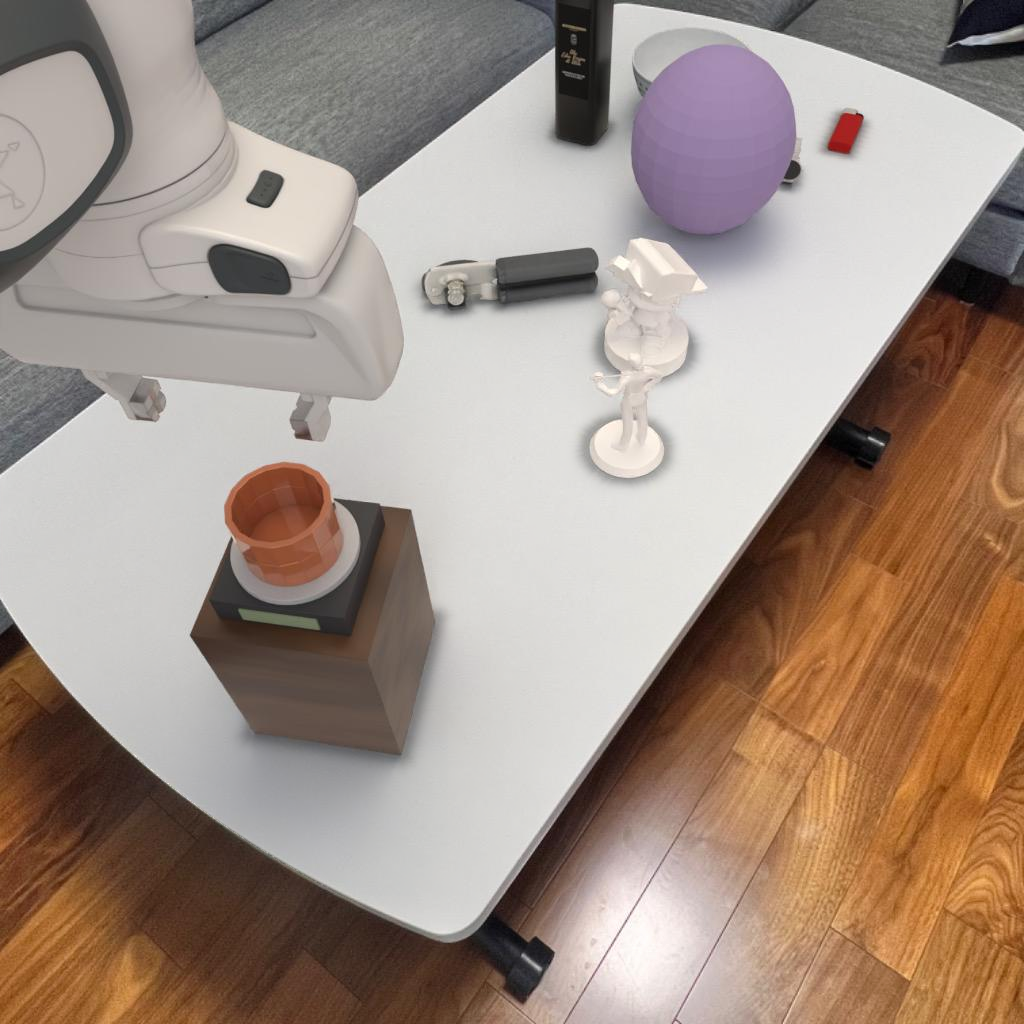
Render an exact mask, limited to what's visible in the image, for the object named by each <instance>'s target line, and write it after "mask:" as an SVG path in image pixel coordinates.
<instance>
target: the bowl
mask: <svg viewBox="0 0 1024 1024" xmlns="http://www.w3.org/2000/svg"><path fill="white" fill-rule="evenodd" d="M333 498H334V496H333V493H332V490H331V486H330V484H329V482H327V480H326V479H325V477H323V475H322V474H321V472H319V471H318V470H316V469H314V468H312V467H311V466H308V465H307V464H304V463H298V462H290V461H289V462H288V461H280V462H276V463H270V464H265V465H262V466H261V467H258V468H256V469H255V470H253V471H250V472H249V473H247V474H245V475H244V476H243V477H242V478H241V479H240V480H239V481H238V482H237V483H236V484H235V485H234V486H233V487H232V488H231V489H230V491H229V494H228V496H227V498H226V501H225V503H224V506H223V513H224V514H223V515H224V516H223V517H224V524H225V526H226V528H227V530H228V532H229V534H230V537H231V536H232V538H233V540H234V542H235V544H236V546H237V548H238V550H239V552H240V554H241V556H242V558H243V560H244V561H245V563H246V565H247V567H248V568H249V570H250V571H251V573H252V574H253V575H254V576H255V577H257V578H258V579H260V580H261V581H263V582H265V583H268V584H271V585H274V586H281V587H292V586H298V585H302V584H306V583H308V582H311V581H313V580H315V579H317V578H319V577H320V576H322V575H323V574H324V573H326V572H327V571H328V570H329V569H330V568H331V567H332V566H333V565H334V564H335V562H336V561H337V559H338V558H339V556H340V553H341V551H342V548H343V543H344V534H343V529H342V525H341V520H340V517H339V514H338V511H337V508H336V505H335V502H334V499H333Z"/></svg>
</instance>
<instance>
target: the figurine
mask: <svg viewBox="0 0 1024 1024" xmlns="http://www.w3.org/2000/svg"><path fill="white" fill-rule="evenodd" d="M628 364H629V367H628V369H627V370H626V371H624V372H620V371H619V372H620V374H613V375H604V373H603V372H602V371H601V372H600V371H596V372H595V373H593V374H592V376H590V377H589V380H591V381H594V384H595V387H594V388H595V389H596V390H598V391H599V392H600V393H602V394H604V395H605V396H607V397H609V398H611V397H612V398H613V397H615V396H618V395H619V394H622V392H623V396H622V397H621V400H620V403H619V404H620V406H619V407H620V413H621V419H615V420H613V421H609V422H608V423H606V424H605V425H603V426H601V427H600V428H599V429H597V431H595V432H594V433H593V435H592V437H591V439H590V442H589V447H588V449H589V450H588V451H589V457H591V460H592V461H593V463H594V465H596V467H598V468H599V470H601V471H603V472H604V473H606V474H608V475H611V476H614V477H618V478H623V479H625V478H626V479H632V478H633V479H635V478H639V477H644V476H646V475H647V474H650V473H651V472H653V471H654V470H656V469H657V468H658V466H660V464H661V463H662V461H663V459H664V455H665V446H664V442H663V440H662V438H661V436H660V434H658V432H656V431H655V430H654V429H653V428H652V427H650V425H649V424H648V423H649V422H648V421H649V420H648V399H649V398H648V397H649V394H648V393H649V392H650V391H651V390H653V388H654V387H655V386H657V385H658V384H659V383H660V382H661V381H662V380H663V378H664V377H663V374H662V373H661V372H660V371H658V370H655V369H653V368H651V367H648V366H644V362H643V359H642V357H641V356H640V355H639V354H638V353H634V352H632V353H630V354H629V358H628ZM630 367H632V369H631V368H630ZM618 377H619V379H618V382H617V384H616V386H614V387H612V388H609V387H608V386H607V385H606V384H605V383H604V382H603V381H605V379H608V378H609V379H610V378H618ZM650 377H653V379H649V378H650ZM602 380H603V381H602ZM634 414H635V418H636V419H634Z"/></svg>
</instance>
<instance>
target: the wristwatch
mask: <svg viewBox="0 0 1024 1024" xmlns="http://www.w3.org/2000/svg"><path fill="white" fill-rule="evenodd" d="M802 144H803V138H802V137H796V143H795V150H794V154H793V157H792V159H791V162H790V165H789V167H788V169H787V172H786V174H785V176H784V178H783V180H782V183H783V182H785V183H792V184H793V183H794V182H795V180H796V179H798V178H799V177H800V175H801V174H802V173H803V172H804V169H803V166H802V163H801V162H800V154H801V152H802Z"/></svg>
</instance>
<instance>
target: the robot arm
mask: <svg viewBox="0 0 1024 1024" xmlns="http://www.w3.org/2000/svg"><path fill="white" fill-rule="evenodd" d="M194 13H195V12H194V6H193V2H192V0H0V349H1V350H2V351H4V352H5V353H7V354H8V355H9V356H11V357H12V358H14V359H15V360H17V361H18V362H21V363H23V364H29V365H42V366H50V367H59V368H67V369H69V368H70V369H76V370H77V369H78V370H80V372H82V375H83V377H84V378H85V379H86V380H88V381H89V382H90V383H92V384H93V385H95V387H97V388H99V390H101V391H103V392H104V393H106V394H107V395H108V396H109V397H110V398H113V399H114V400H115V401H118V403H119V404H120V406H121V408H122V410H123V412H124V413H125V415H126V417H127V419H129V420H130V421H137V422H138V421H140V422H141V421H142V422H150V423H157V422H158V421H159V419H160V418H161V415H160V414H161V413H162V412H164V410H165V408H166V406H167V399H166V395H165V393H163V392H162V391H161V390H162V387H161V384H160V382H159V380H158V379H155V378H160V379H168V380H179V381H187V382H195V383H196V382H197V383H206V384H213V385H223V386H233V387H240V388H241V387H243V388H250V389H251V388H252V389H259V390H268V391H270V390H271V391H278V392H288V393H297V394H299V396H298V398H297V400H296V403H295V405H296V406H295V407H296V408H295V409H293V410H292V412H291V415H290V417H289V424H290V427H291V429H292V430H293V431H294V433H293V436H294V438H295V439H296V440H303V441H312V442H318V443H323V442H325V440H326V438H327V435H328V433H329V430H330V427H331V425H332V424H331V423H332V422H331V421H332V415H331V412H330V408H329V406H330V404H331V401H332V398H333V397H335V398H341V399H342V398H343V399H351V400H360V401H367V402H368V401H370V402H371V401H376V400H378V399H379V398H380V397H382V396H383V395H384V394H385V393H386V392H387V390H389V388H391V386H392V384H393V382H394V380H395V378H396V375H397V372H398V369H399V366H400V364H401V360H402V357H403V352H404V345H405V336H404V329H403V324H402V318H401V314H400V309H399V306H398V302H397V298H396V294H395V290H394V287H393V284H392V281H391V278H390V275H389V271H388V269H387V266H386V263H385V261H384V258H383V256H382V254H381V252H380V250H379V248H378V247H377V245H376V244H375V242H374V241H373V239H372V238H371V237H370V236H369V235H368V234H367V233H366V232H364V231H363V230H362V228H359V227H358V226H357V225H355V224H354V222H355V220H356V214H357V210H358V206H359V201H360V200H359V199H360V198H359V189H358V184H357V181H356V179H355V177H354V176H353V175H352V173H351V172H350V171H348V170H347V169H345V168H344V167H342V166H340V165H338V164H335V163H332V162H330V161H327V160H325V159H322V158H318V157H315V156H312V155H310V154H307V153H305V152H302V151H299V150H296V149H294V148H291V147H289V146H286V145H284V144H282V143H279V142H276V141H273V140H272V139H270V138H269V139H268V138H267V137H265V136H263V135H260V134H258V133H256V132H254V131H251V130H250V129H248V128H246V127H244V126H242V125H240V124H238V123H236V122H234V121H231V120H228V118H227V115H226V111H225V109H224V106H223V104H222V102H221V99H220V96H219V95H218V94H217V92H216V90H215V88H214V87H213V85H212V84H211V82H210V81H209V79H208V78H207V76H206V75H205V72H204V71H203V69H202V65H201V64H200V60H199V57H198V54H197V49H196V41H195V40H196V39H195V14H194ZM146 377H147V378H146ZM148 377H151V378H148Z"/></svg>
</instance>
